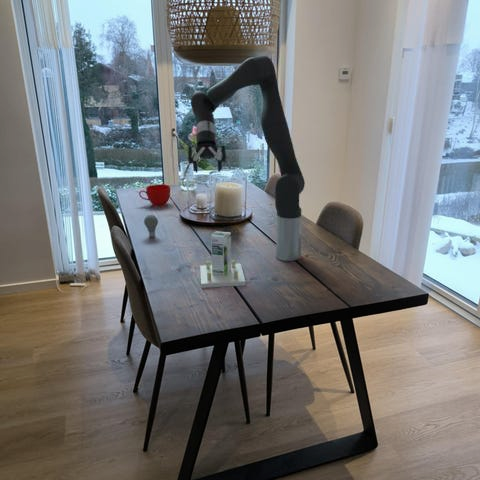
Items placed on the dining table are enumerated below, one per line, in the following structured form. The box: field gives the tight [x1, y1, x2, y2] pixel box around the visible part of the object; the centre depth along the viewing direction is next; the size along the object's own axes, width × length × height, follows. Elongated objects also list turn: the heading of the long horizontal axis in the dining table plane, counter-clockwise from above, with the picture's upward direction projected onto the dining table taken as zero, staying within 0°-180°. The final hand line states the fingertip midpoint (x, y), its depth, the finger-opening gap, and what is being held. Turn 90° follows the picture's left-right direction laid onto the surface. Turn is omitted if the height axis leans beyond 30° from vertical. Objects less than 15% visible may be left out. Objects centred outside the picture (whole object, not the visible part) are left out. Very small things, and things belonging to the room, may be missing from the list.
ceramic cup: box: [138, 183, 171, 207], centre depth 239 cm, size 13×17×10 cm
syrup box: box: [210, 230, 232, 276], centre depth 153 cm, size 6×6×14 cm
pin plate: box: [199, 259, 246, 289], centre depth 155 cm, size 15×15×4 cm
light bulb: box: [143, 214, 159, 238], centre depth 193 cm, size 6×6×10 cm
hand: (207, 171), depth 163 cm, fingers open, 8 cm apart
